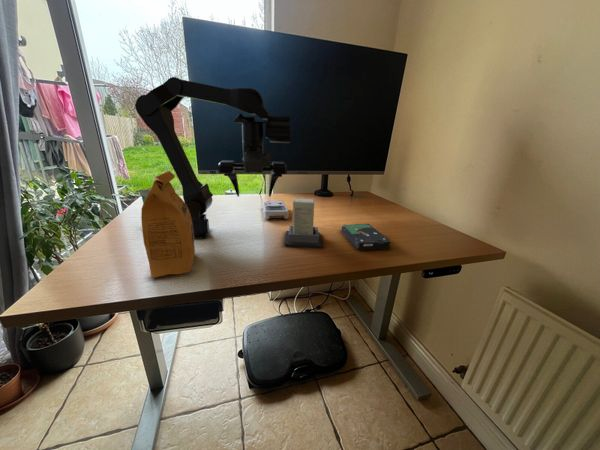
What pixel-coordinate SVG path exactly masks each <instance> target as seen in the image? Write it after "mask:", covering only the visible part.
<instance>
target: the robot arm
mask: <svg viewBox="0 0 600 450" xmlns="http://www.w3.org/2000/svg"><path fill="white" fill-rule="evenodd" d="M184 98H188V99H193V100H197V101H204V102H209V103H214V104H220V105H224V106H229V107H231V108H233V109H235V110H239V111H241V112H239V113H238V115H237V116H236V117H235V118H234V119H233V122H234V123H237V124H241V139H242V141H241V142H242V144H241V145H242V156H241V158H242V161H241V162H242V163H241V162H240V163H239V162H238V163H237V162H235V160H231V159H228V160H227V159H222V160H221V161H220V162H219V163H218V166H217V167H218V173H219V174H223V176H224V177H228V179H229V180H230V182H231V184H232V187H233V189H234V191H235V194H236V197H239V198H240V188H239V181H238V180H239V179H238V174H237V171H243V172H245V173H248V174H249V173H257V174H261V173H263V172H264V171H265V172H270V176H269V185H268V197H269V198H270V197H271V196H272V193H273V190H274V188H275V184H276V183H277V180H278V179H279V178H282V177H283V175H287V174H288V165H287V164H286V163H285V162H284V161H271V154H270V153H267V152H264V133H265V139H268V140H269V143H279V144H290V143H291V117H290V115H289V116H287V115H283V116H273V115H270V112H269V111H267V110H266V109H265V103H264V98H263V96H262V95H261V94H260V92H259V91H258V90H256V89H254V88H252V87H251V88H250V87H234V88H225V87H220V86H216V85H210V84H205V83H201V82H195V81H189V80H187V79H182V78H179V77H176V76H172V77H170V78H168V79H166V80H165V82H163V83H162V84H160V85H158V86H157V87H154V88H153V89H151V90H150V91H149V92H147V93H146V94H141V95H140V96H138V97H137V98H136V101H135V103H134V108H135V112H136V113H137V114H138V116H139V117H140V119H141V120H142V121H143V123H144V125H145V126H146V127H147V128H148V129H150V130H151V132H152V133H154V134H155V136H156V137H157V140H158V141H159V143H160V145H161V147H162V149H163V151H164V153H165V155H166V157H167V159H168V162H169V163H170V165H171V167H172V169H173V171H174V173H175V175H176V177H177V179H178V180H179V183H180V185H181V187H182V189H181V190H182V198H183V199H182V200H183V201H184V202H185V204H186V205H187V207H188V210H189V212H190V215H191V219H192V225H193V230H194V239H206V238H207V236H208V234H209V233H210V223H209V221H210V220H209V218H207V214H206V212H207V210H208V209H209V208H210V207H211V206H212V203H213V196H214V193H212V192H211V190H210V187H209V184H208V183H204V184H203V183H201V181H200V180H199V179H198V177H197V175H196V173H195V171H194V169H193V167H192V164H191V162H190V160H189V158H188V156H187V153H186V151H185V150H184V148H183V145H182V143H181V141H180V139H179V137H178V135H177V133H176V131H175V130H176V129H175V119H174V115H173V111H174V110H175V109H176V108H177V107H178V106H179V104H180V103H181V101H182V100H183V99H184ZM242 112H244V113H246V114H248V115H251V116H245V115H244V114H243V113H242ZM255 116H257V117H258V118H260V119H262V120H267V121H256V117H255ZM264 125H265V129H264ZM264 131H265V132H264Z"/></svg>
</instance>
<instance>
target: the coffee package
mask: <svg viewBox="0 0 600 450" xmlns="http://www.w3.org/2000/svg"><path fill="white" fill-rule="evenodd" d="M175 177H176V176H175V174H174V173H173V172H172V171H171V170H166V171H165V172H163V173H160V174H158V175H156V176H154V180H153V184H152V186H151V187H152V188H151V187H150V188H151V189H150V191H149V193H148V195H147V197H146V199H145V200H144V203H143V202H142V207H141V217H140V218H141V219H140V220H141V231H142V239H143V241H142V242H143V244H144V249H145V252H146V255H147V256H146V257H147V260H148V264H149V271H150V277H151V278H154V279H155V278H159V277H165V276H168V275H182V274H185V273H189V272H191V271H192V269H193V265H194V260H195V253H196V247H195V246H196V245H195V238H194V230H193V225H192V219H191V215H190V212H189V210H188V207H187V205H186V204H185V202H184V199H182V198H181V196H180V195H179V194H178V193H177V192H176V190H175V188H174V186H173V185H172V182H171V181H173V180H174V179H175Z"/></svg>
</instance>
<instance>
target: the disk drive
mask: <svg viewBox="0 0 600 450" xmlns="http://www.w3.org/2000/svg"><path fill="white" fill-rule="evenodd" d="M341 232H342V233H343V235H344V236H345V237H346V238H347V239H348V240H349V241H350V242H351V244H353V246H354V247H355V248H356V249H357V250H359V251H360V250H361V251H365V250H366V251H367V250H368V251H369V250H385V249H386V250H387V249H390V246H391V240H390V239H388V238H387V237H386V236H385V235H384V234H382V233H381V232H379V231H378V230H377V229H376V228H375V227H373V226H372V225H371V224H370V223H355V224H342V225H341Z"/></svg>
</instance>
